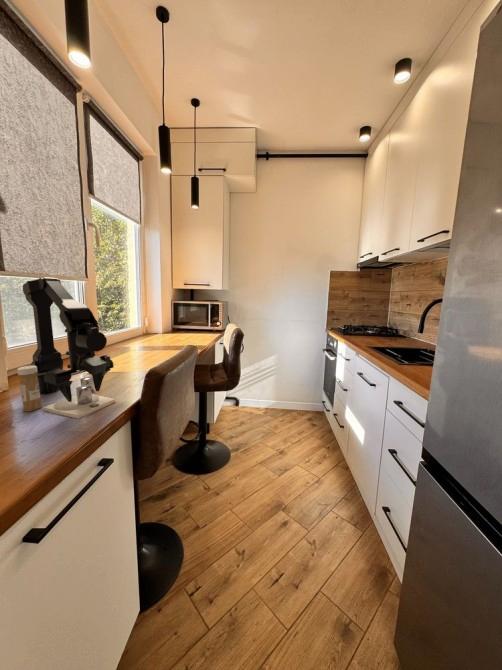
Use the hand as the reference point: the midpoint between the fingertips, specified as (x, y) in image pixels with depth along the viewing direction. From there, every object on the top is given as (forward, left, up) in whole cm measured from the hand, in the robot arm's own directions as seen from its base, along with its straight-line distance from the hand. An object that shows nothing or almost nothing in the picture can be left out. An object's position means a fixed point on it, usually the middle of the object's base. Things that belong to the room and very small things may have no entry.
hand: (84, 396), depth 82 cm
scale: (-2, 0, -4) cm, 4 cm away
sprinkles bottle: (-14, -7, -4) cm, 16 cm away
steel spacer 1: (-12, +10, -4) cm, 16 cm away
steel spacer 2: (0, 0, -2) cm, 2 cm away
